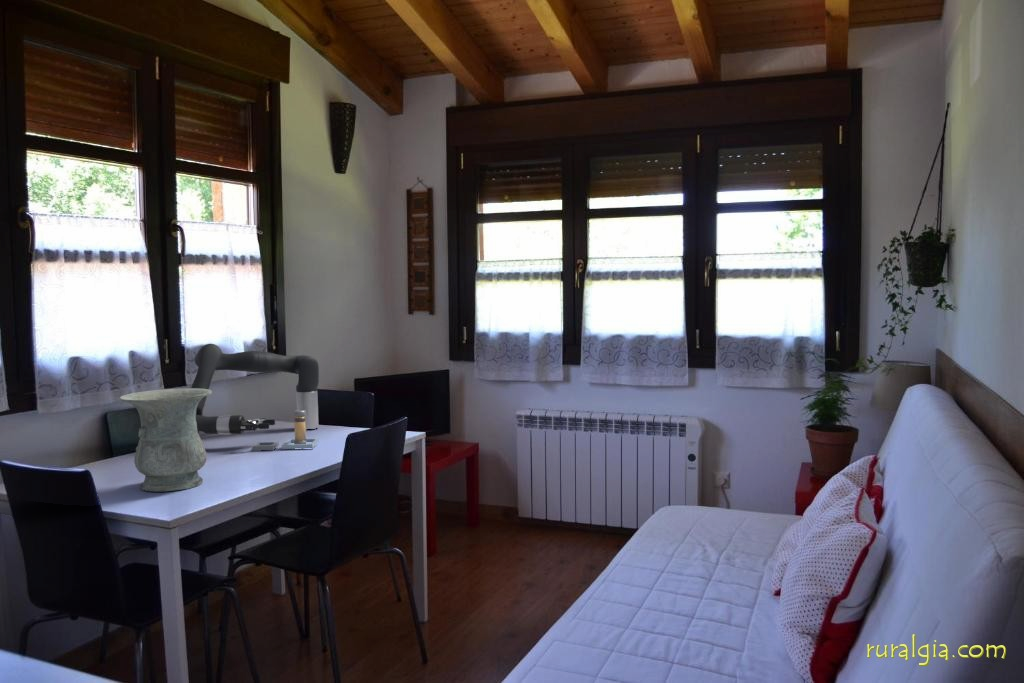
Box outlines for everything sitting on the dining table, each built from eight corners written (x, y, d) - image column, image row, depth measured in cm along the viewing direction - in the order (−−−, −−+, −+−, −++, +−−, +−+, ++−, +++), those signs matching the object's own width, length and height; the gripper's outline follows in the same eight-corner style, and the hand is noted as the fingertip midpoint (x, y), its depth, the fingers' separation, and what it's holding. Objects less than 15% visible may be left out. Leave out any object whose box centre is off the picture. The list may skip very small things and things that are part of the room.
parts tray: (289, 444, 309) (289, 439, 309) (319, 443, 310) (318, 438, 310) (281, 450, 297) (281, 445, 297) (312, 449, 298) (312, 444, 298)
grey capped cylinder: (296, 444, 306) (295, 409, 305) (307, 444, 306) (306, 409, 305) (293, 446, 301) (292, 411, 300) (304, 446, 301) (304, 411, 300)
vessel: (112, 486, 245) (107, 393, 243) (195, 471, 264) (191, 385, 262) (142, 501, 226) (137, 401, 224) (229, 484, 244) (225, 392, 242)
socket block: (258, 447, 304) (258, 442, 304) (278, 446, 304) (278, 441, 304) (252, 451, 296) (252, 446, 296) (273, 450, 296) (273, 445, 296)
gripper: (224, 418, 294) (266, 417, 295) (236, 412, 309) (276, 411, 309) (225, 437, 295) (267, 436, 296) (236, 430, 309) (277, 430, 310)
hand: (271, 424), depth 302 cm, fingers open, 8 cm apart
